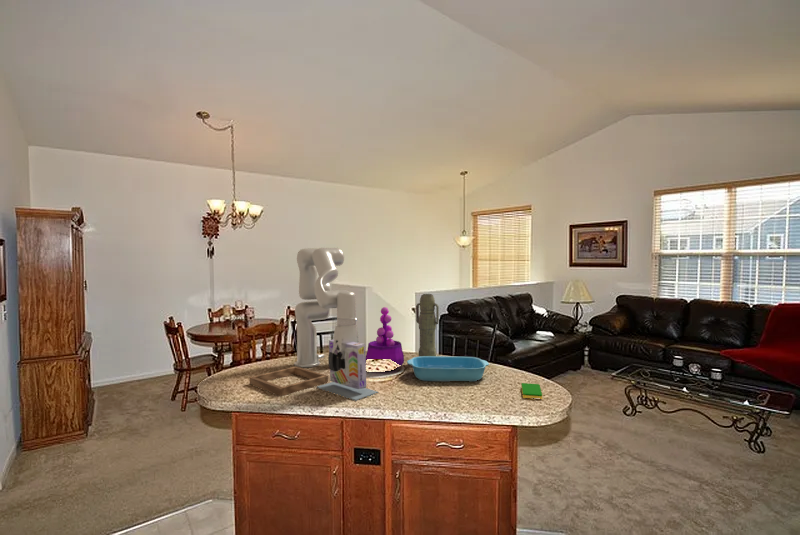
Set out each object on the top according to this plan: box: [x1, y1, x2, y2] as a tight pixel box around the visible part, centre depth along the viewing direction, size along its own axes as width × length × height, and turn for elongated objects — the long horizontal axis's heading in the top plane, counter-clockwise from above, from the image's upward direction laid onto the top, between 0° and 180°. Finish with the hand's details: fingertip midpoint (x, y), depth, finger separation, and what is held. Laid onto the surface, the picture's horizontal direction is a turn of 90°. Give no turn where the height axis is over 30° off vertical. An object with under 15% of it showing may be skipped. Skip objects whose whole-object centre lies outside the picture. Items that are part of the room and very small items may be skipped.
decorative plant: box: [365, 306, 405, 366], centre depth 205 cm, size 19×18×30 cm
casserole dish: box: [406, 355, 490, 382], centre depth 193 cm, size 37×22×7 cm, turn 90°
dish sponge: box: [520, 382, 543, 400], centre depth 169 cm, size 7×14×2 cm, turn 166°
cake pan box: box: [327, 338, 367, 389], centre depth 173 cm, size 19×5×18 cm, turn 47°
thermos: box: [415, 293, 440, 357], centre depth 217 cm, size 9×12×35 cm
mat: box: [316, 381, 379, 402], centre depth 173 cm, size 12×24×1 cm, turn 48°
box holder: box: [249, 365, 329, 397], centre depth 183 cm, size 24×24×3 cm
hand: (346, 366), depth 173 cm, fingers closed on cake pan box, 4 cm apart
